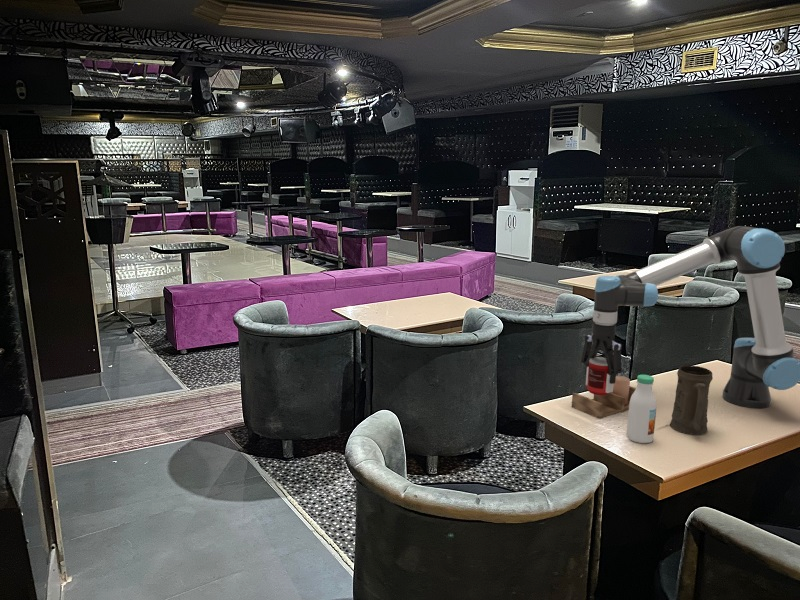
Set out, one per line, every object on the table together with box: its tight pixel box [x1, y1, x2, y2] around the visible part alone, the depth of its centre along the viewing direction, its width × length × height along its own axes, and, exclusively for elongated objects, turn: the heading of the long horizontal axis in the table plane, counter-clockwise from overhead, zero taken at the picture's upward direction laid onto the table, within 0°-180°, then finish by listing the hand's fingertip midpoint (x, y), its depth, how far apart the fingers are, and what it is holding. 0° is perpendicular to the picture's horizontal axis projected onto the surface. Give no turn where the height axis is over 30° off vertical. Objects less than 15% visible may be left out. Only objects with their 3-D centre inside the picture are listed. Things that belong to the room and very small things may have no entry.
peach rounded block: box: [611, 375, 631, 406], centre depth 207 cm, size 6×6×9 cm
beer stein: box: [669, 365, 713, 436], centre depth 186 cm, size 15×11×20 cm
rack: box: [571, 386, 637, 420], centre depth 204 cm, size 12×23×6 cm, turn 121°
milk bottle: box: [626, 374, 657, 444], centre depth 180 cm, size 8×8×20 cm
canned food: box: [586, 356, 609, 395], centre depth 200 cm, size 8×8×11 cm
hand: (598, 388), depth 200 cm, fingers closed on canned food, 8 cm apart
